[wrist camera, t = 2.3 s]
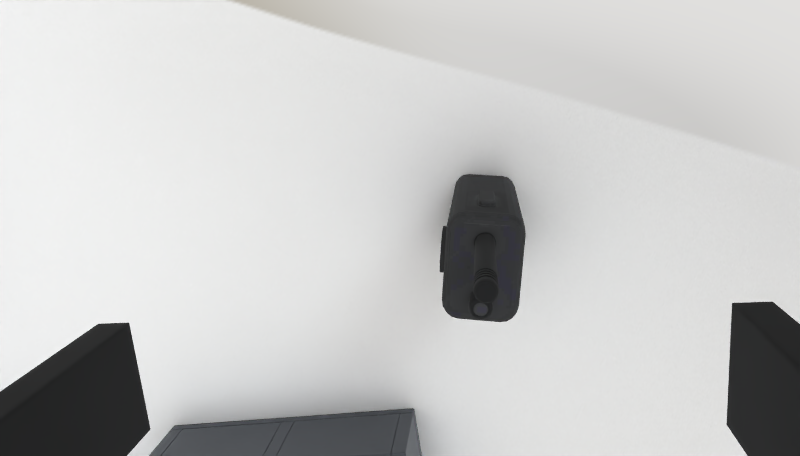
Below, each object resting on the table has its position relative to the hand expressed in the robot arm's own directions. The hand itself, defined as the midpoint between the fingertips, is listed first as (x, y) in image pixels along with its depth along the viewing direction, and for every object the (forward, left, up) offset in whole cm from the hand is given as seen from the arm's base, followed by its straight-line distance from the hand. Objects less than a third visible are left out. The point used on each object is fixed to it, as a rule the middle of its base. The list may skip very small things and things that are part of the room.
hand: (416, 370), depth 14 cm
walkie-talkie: (-1, +2, -22) cm, 22 cm away
